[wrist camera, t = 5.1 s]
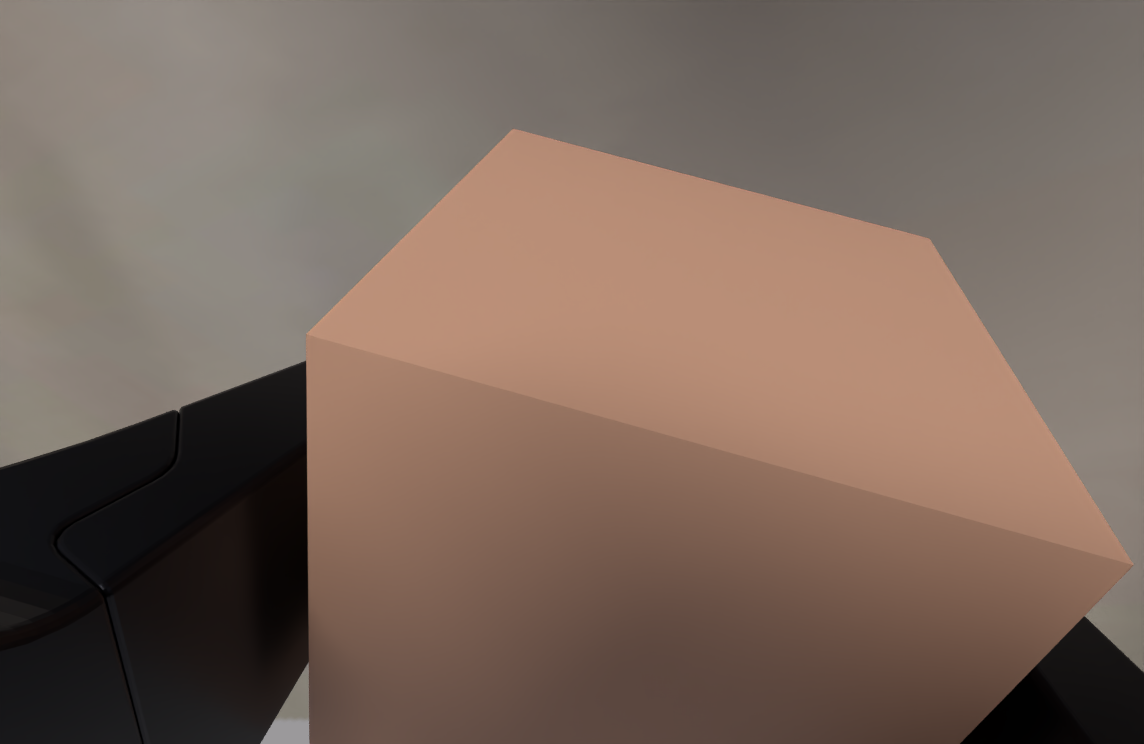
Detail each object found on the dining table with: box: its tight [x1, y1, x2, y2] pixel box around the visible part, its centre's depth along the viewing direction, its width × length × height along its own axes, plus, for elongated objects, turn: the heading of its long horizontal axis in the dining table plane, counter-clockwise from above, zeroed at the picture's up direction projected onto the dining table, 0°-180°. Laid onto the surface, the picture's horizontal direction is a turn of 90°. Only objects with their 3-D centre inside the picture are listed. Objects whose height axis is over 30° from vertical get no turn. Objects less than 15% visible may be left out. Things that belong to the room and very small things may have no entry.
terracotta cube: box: [306, 129, 1133, 744], centre depth 8 cm, size 5×5×5 cm
